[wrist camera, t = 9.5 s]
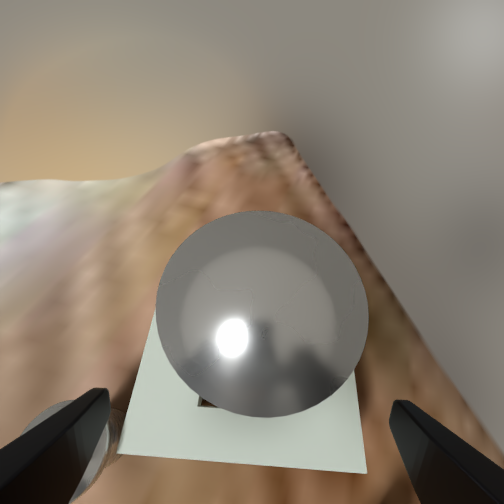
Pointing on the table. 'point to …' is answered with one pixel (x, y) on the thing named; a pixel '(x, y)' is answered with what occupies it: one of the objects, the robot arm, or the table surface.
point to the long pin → (262, 314)
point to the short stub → (103, 450)
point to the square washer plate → (236, 425)
